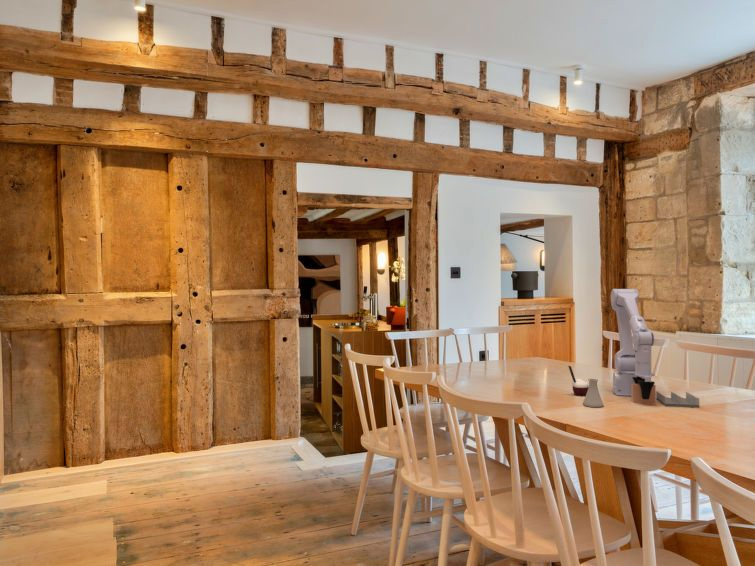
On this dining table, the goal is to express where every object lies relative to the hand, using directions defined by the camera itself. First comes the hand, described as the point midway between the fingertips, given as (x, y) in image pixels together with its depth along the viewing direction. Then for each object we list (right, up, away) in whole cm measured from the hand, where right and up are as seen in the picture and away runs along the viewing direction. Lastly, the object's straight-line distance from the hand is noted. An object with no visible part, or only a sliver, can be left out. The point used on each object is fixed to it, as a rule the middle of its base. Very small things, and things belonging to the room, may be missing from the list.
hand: (643, 397), depth 215 cm
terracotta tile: (0, -2, 0) cm, 2 cm away
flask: (-22, -2, -6) cm, 22 cm away
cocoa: (-19, -2, +14) cm, 24 cm away
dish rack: (+12, -2, -3) cm, 12 cm away
